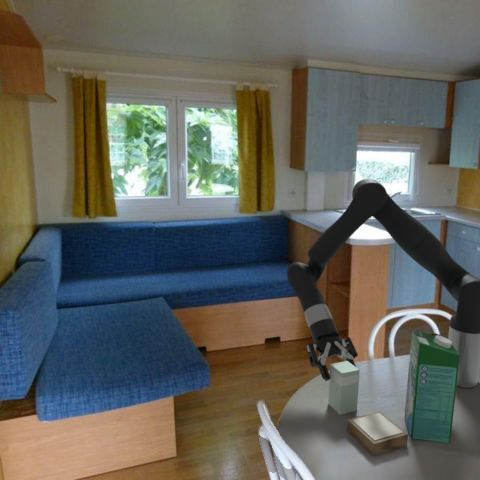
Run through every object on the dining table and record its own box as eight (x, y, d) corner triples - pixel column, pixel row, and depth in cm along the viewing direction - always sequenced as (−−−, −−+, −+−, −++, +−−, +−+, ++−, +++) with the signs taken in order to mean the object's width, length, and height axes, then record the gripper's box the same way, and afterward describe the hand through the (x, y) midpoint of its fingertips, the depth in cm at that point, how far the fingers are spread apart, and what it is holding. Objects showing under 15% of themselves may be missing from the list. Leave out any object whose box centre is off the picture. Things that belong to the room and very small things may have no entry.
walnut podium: (379, 421, 110) (379, 410, 110) (407, 445, 101) (408, 433, 101) (346, 430, 107) (347, 418, 106) (373, 455, 98) (374, 443, 97)
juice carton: (344, 400, 120) (347, 360, 118) (357, 410, 115) (359, 369, 113) (328, 404, 118) (330, 364, 116) (339, 415, 113) (342, 373, 111)
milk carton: (450, 443, 102) (461, 346, 97) (410, 438, 104) (419, 342, 99) (440, 421, 111) (450, 331, 106) (404, 417, 112) (412, 328, 108)
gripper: (304, 320, 119) (325, 377, 111) (346, 314, 124) (369, 368, 116) (294, 331, 125) (313, 386, 117) (335, 325, 130) (356, 377, 122)
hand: (341, 377), depth 116 cm, fingers open, 8 cm apart
